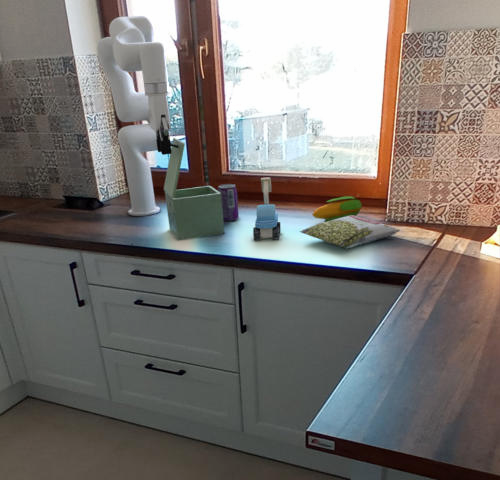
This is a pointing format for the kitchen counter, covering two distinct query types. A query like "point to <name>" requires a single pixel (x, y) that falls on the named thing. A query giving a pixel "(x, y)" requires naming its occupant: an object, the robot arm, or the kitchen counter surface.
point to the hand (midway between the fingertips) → (164, 152)
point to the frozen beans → (350, 231)
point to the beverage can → (229, 202)
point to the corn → (338, 209)
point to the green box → (195, 212)
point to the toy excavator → (266, 216)
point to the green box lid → (174, 167)
